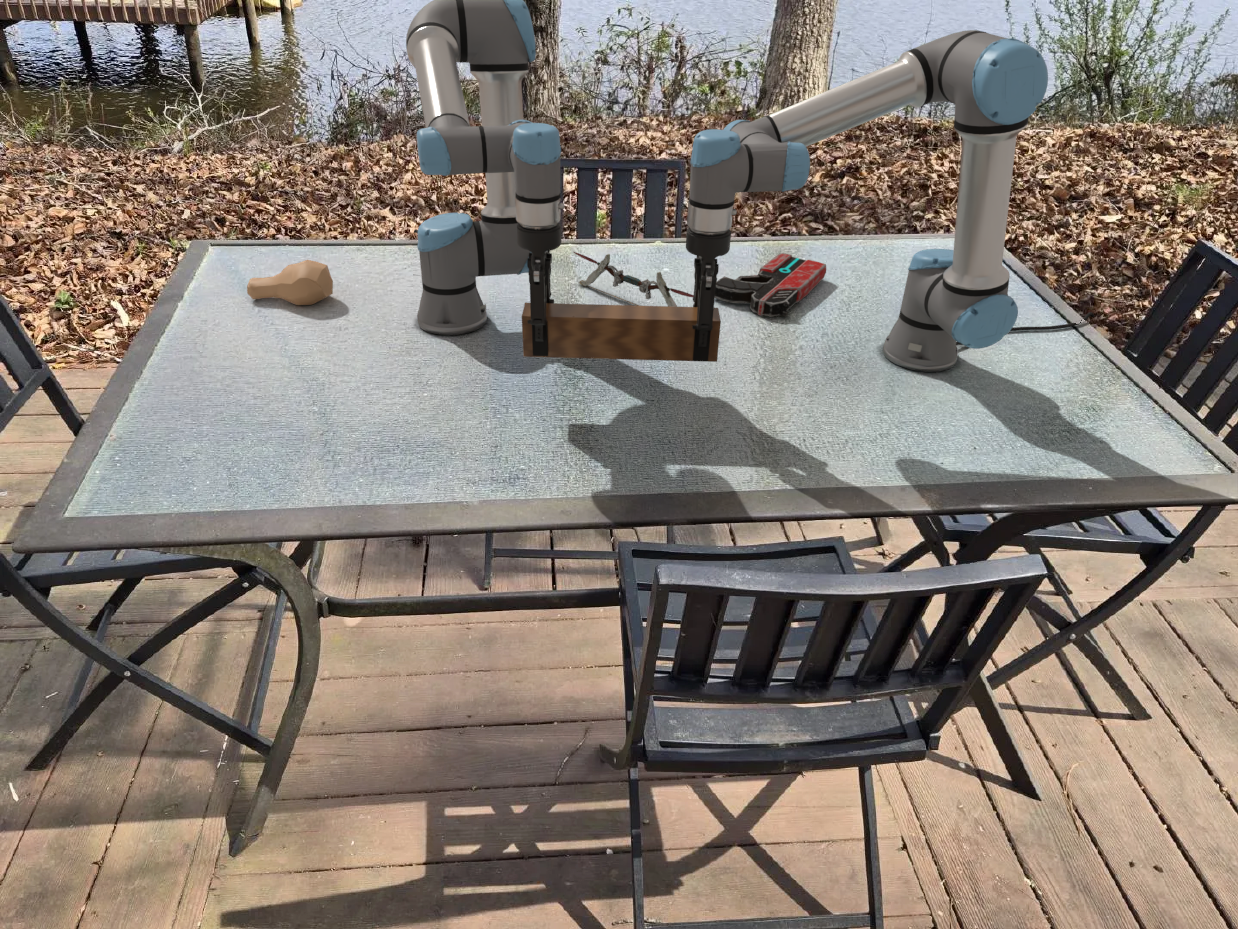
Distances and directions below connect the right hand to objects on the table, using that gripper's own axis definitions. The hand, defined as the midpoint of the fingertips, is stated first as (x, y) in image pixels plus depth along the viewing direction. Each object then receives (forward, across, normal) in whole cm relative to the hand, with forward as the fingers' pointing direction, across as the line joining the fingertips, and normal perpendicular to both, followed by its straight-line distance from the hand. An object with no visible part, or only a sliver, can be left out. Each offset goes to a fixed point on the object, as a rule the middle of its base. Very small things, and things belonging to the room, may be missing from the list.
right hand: (699, 351), depth 161 cm
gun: (+12, +59, -22) cm, 64 cm away
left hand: (0, 0, +29) cm, 29 cm away
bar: (0, 0, +14) cm, 14 cm away
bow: (+12, +49, +12) cm, 52 cm away
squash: (+12, +45, +91) cm, 103 cm away
